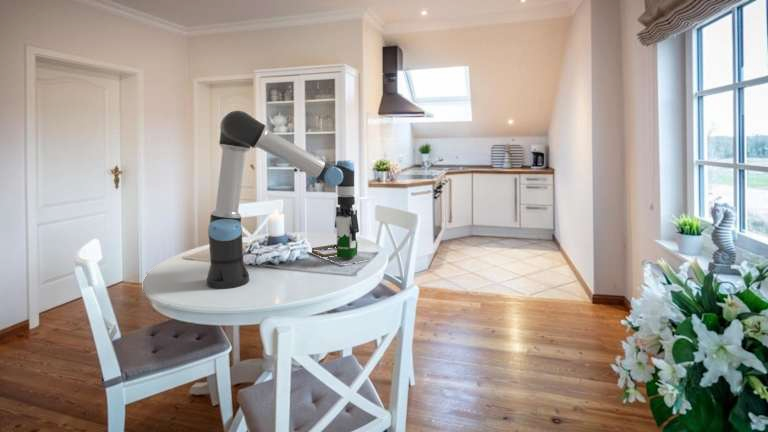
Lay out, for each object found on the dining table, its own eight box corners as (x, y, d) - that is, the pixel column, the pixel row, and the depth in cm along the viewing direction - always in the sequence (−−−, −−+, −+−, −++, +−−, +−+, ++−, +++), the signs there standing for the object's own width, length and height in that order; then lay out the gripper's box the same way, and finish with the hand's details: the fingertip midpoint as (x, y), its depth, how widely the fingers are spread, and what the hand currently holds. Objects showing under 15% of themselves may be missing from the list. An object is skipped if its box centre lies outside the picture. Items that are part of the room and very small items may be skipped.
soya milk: (359, 254, 201) (359, 210, 198) (352, 258, 192) (352, 213, 189) (341, 252, 203) (341, 209, 200) (334, 257, 195) (333, 212, 192)
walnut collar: (353, 254, 211) (353, 249, 210) (323, 259, 201) (323, 254, 201) (335, 248, 223) (335, 244, 223) (307, 252, 214) (307, 248, 213)
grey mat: (368, 261, 197) (368, 259, 197) (342, 266, 188) (342, 264, 188) (351, 255, 208) (351, 253, 208) (325, 260, 199) (325, 257, 199)
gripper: (367, 197, 187) (367, 249, 191) (340, 193, 204) (341, 240, 208) (352, 198, 183) (352, 251, 186) (326, 194, 200) (327, 242, 203)
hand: (346, 245), depth 197 cm, fingers closed on soya milk, 9 cm apart
